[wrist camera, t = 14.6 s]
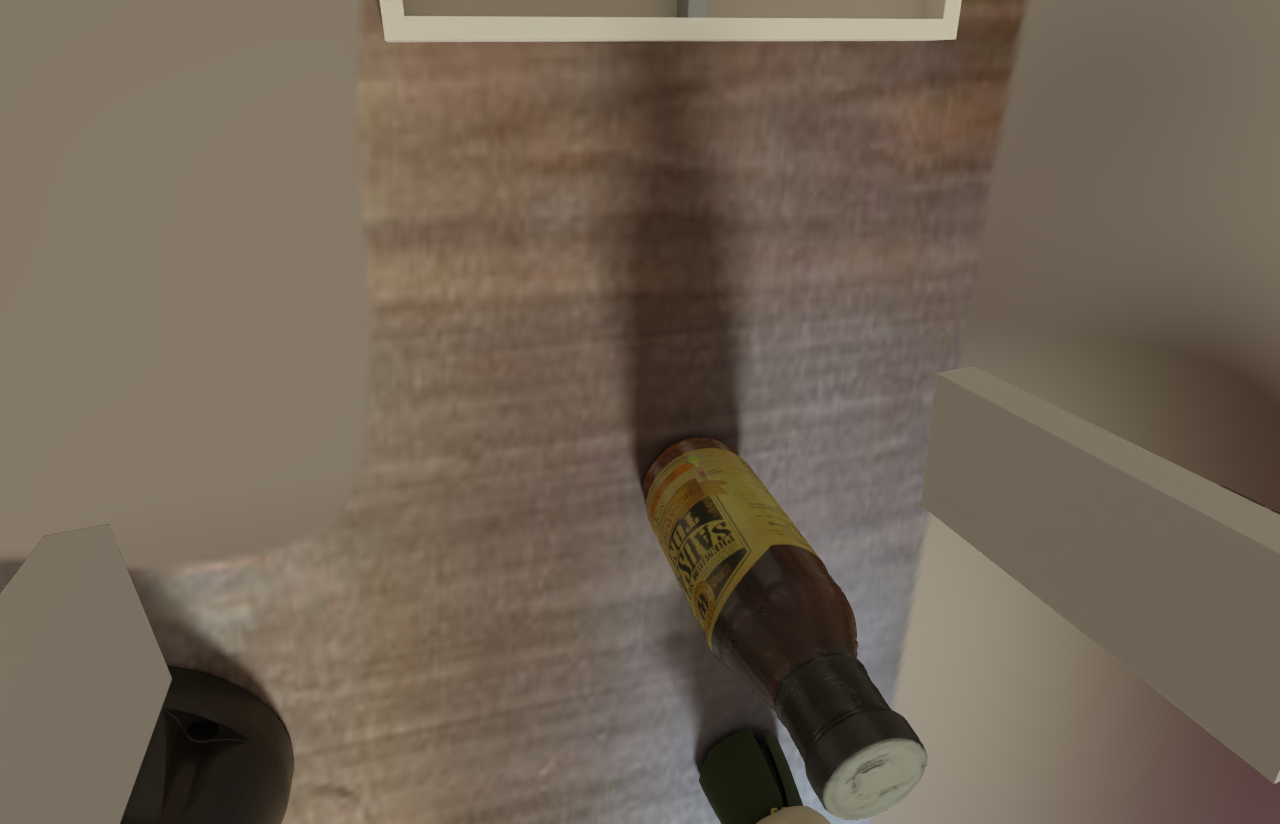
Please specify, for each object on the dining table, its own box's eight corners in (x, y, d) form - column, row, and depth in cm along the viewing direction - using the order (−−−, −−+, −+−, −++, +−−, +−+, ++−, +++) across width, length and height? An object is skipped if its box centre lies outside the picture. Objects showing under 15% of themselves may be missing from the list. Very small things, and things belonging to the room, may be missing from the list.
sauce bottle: (649, 427, 40) (828, 701, 23) (753, 435, 42) (990, 692, 25) (626, 531, 43) (773, 851, 25) (725, 534, 45) (924, 832, 27)
